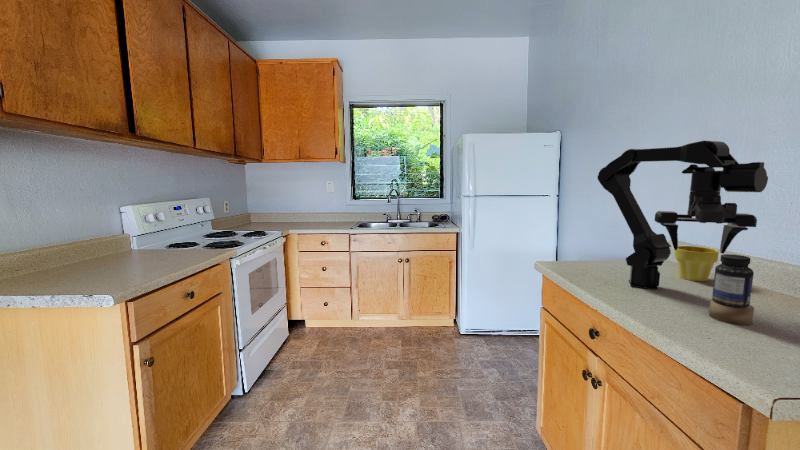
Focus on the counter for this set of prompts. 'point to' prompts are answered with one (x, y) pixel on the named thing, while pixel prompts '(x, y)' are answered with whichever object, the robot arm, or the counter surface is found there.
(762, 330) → the counter surface
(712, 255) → the plant pot
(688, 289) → the counter surface
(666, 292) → the counter surface
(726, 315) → the stand
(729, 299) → the pill bottle
